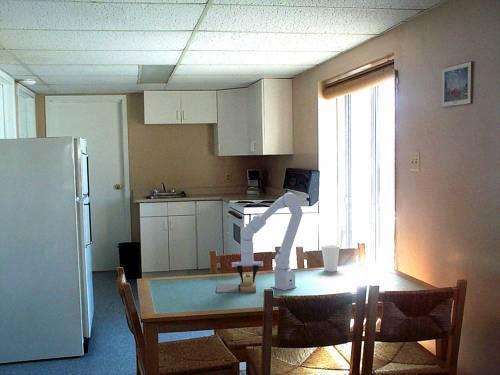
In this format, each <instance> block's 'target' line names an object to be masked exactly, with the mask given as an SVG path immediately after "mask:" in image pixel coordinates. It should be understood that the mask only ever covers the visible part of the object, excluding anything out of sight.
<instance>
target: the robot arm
mask: <svg viewBox="0 0 500 375" xmlns="http://www.w3.org/2000/svg"><path fill="white" fill-rule="evenodd" d="M300 202H301V201H300V200H299V198H298V196H297V195H296V194H294V193H293V192H290V191H289V192H286V193H284V194H283V195H282V196H280V197H279V198H278V199H276V200H275V201H274V202H273V203H272V204H271V205H270V206H269V207H268V208H267V209H266V210H265V211H264V212H263V213H262V214H257V215H254V216H253V217H252V220H250V221H249V222H248V223H246V224H245V226H244V227H242V228H241V230H240V236H241V239H240V241H241V242H240V254H241V256H240V258H241V260H240V261H233V262H232V261H231V267H232V268H236V269H237V272H238V274H239V277H240V281H242V282H243V274H244V273H243V267H252V274H253V282H254V280H255V281H256V275H257V272H258V271H259V267H264V261H260V260H259V261H256V260H254V242H253V240H254V239H253V238H254V234H257V233H258V232H259V231H260V230H261V229H262V228H264V226H266V225H267V220H268V219H270V217H271V216H273V215H274V214H275V213H276V212H277V211H278V210H280V209H285V208H286V207H287V208H288V210H289V212H290V214H291V216H290V218H289V222H288V225H287V228H286V230H285V234H284V237H283V240H282V243H281V245H280V248H279V251H278V253H276V254H275V256H274V262H275V266H274V268H273V269H274V271H273V272H274V275H273V276H274V284H273V285H270V288H274V289H277V290H283V291H286V290H291V289H296V288H297V285H296V274H295V271H294V270H292V269H291V266H290V258H291V250H292V248H293V246H294V241H295V238H296V235H297V233H298V229H299V226H300V223H301V220H302V218H303V215H304V214H303V210H302V206H301V205H302V204H301V203H300Z"/></svg>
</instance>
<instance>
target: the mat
mask: <svg viewBox="0 0 500 375" xmlns="http://www.w3.org/2000/svg"><path fill="white" fill-rule="evenodd" d="M239 284H240V283H223V284H222V283H221V284H220V283H218V284H217V286H216V292H215V293H216V294H230V293H231V294H237V293H238V294H239V287H240V286H239Z"/></svg>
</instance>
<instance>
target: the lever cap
mask: <svg viewBox="0 0 500 375" xmlns="http://www.w3.org/2000/svg"><path fill="white" fill-rule="evenodd" d="M243 285H253V273H243Z"/></svg>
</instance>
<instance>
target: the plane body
mask: <svg viewBox="0 0 500 375" xmlns="http://www.w3.org/2000/svg"><path fill="white" fill-rule="evenodd" d="M239 284H240V286H239V287H240V291H239V292H240V294H254V293H257V284H256V279H255V280H254V282H253V285H243V282H242V281H241V280H240V283H239Z"/></svg>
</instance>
